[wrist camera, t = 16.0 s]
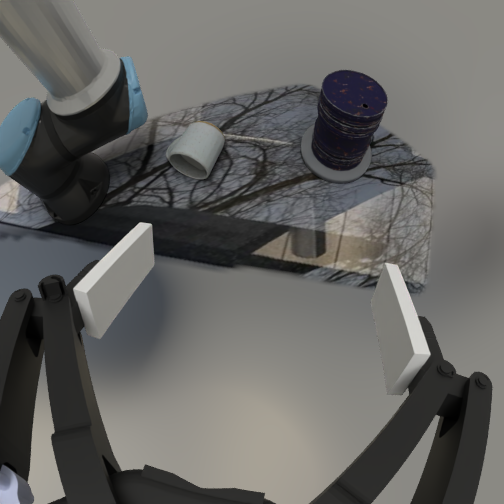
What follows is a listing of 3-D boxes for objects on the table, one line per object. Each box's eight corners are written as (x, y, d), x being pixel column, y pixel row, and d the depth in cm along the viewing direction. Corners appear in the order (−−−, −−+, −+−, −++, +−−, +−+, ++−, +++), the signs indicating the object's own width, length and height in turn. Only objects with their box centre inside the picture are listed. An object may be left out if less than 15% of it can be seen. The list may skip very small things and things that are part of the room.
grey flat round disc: (288, 136, 54) (288, 131, 53) (346, 118, 55) (347, 113, 54) (322, 193, 51) (323, 189, 50) (381, 170, 52) (384, 166, 50)
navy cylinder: (302, 132, 53) (309, 73, 38) (349, 122, 53) (367, 66, 39) (323, 177, 50) (340, 123, 36) (373, 165, 50) (400, 112, 36)
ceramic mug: (229, 147, 54) (224, 121, 47) (212, 184, 53) (203, 160, 45) (179, 135, 56) (168, 110, 49) (160, 170, 54) (146, 147, 47)
